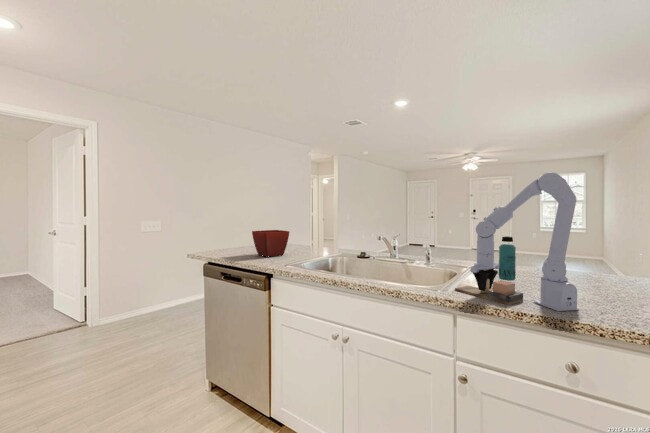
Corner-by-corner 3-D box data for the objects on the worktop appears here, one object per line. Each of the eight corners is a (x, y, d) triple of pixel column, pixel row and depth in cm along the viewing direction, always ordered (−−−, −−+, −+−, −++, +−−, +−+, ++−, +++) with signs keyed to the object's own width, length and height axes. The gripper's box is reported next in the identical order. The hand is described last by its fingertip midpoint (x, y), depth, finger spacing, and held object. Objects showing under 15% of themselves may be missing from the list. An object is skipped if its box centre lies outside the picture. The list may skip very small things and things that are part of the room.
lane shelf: (523, 301, 107) (523, 293, 107) (509, 305, 103) (509, 296, 103) (468, 287, 126) (468, 280, 126) (455, 290, 122) (455, 283, 122)
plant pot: (275, 252, 223) (275, 229, 222) (290, 255, 208) (290, 231, 207) (251, 255, 210) (251, 230, 210) (265, 259, 196) (264, 232, 195)
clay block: (514, 297, 108) (514, 283, 108) (506, 299, 106) (506, 285, 106) (485, 290, 118) (485, 277, 118) (477, 291, 115) (477, 278, 115)
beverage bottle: (495, 281, 135) (494, 236, 135) (505, 280, 138) (505, 235, 137) (508, 284, 129) (508, 237, 129) (519, 283, 132) (519, 236, 131)
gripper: (486, 250, 122) (486, 284, 122) (463, 253, 115) (462, 289, 115) (504, 253, 116) (504, 288, 116) (481, 256, 108) (480, 294, 109)
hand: (484, 289), depth 115 cm, fingers closed on clay block, 3 cm apart
